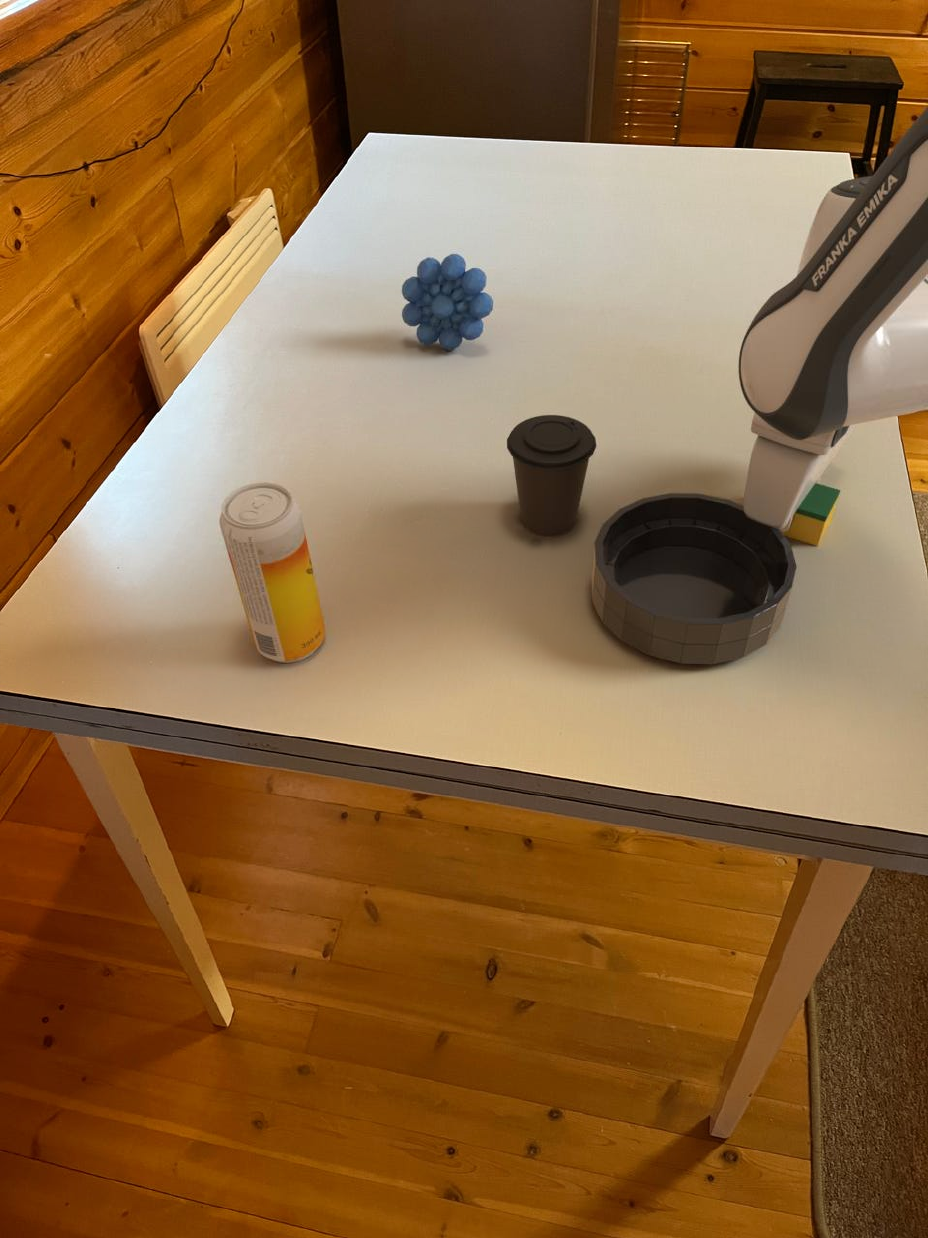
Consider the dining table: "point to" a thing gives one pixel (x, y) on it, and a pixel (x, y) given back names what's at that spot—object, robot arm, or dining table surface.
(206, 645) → the dining table surface
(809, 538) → the sponge
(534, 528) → the coffee cup
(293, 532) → the beer can
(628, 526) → the bowl
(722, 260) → the dining table surface
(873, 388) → the robot arm
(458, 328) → the blue knobbed flower
